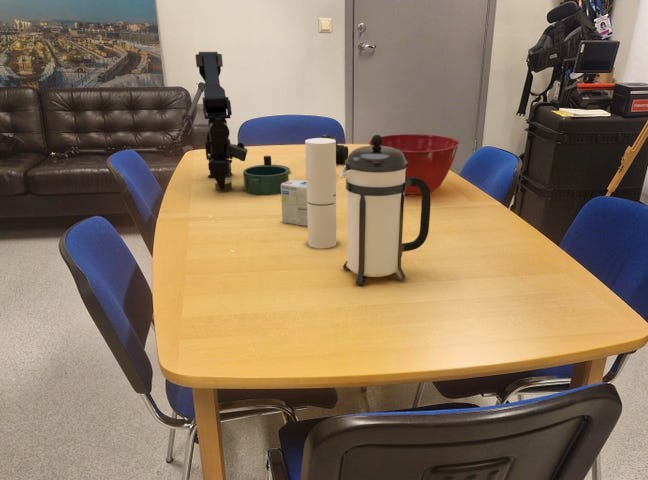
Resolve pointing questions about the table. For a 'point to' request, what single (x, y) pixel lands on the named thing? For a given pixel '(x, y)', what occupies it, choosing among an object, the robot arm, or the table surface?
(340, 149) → the film camera
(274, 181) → the pot
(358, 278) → the coffee press
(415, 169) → the mixing bowl
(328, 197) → the cylindrical container
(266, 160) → the pot lid
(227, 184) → the cake
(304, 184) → the light bulb box
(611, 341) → the table surface
